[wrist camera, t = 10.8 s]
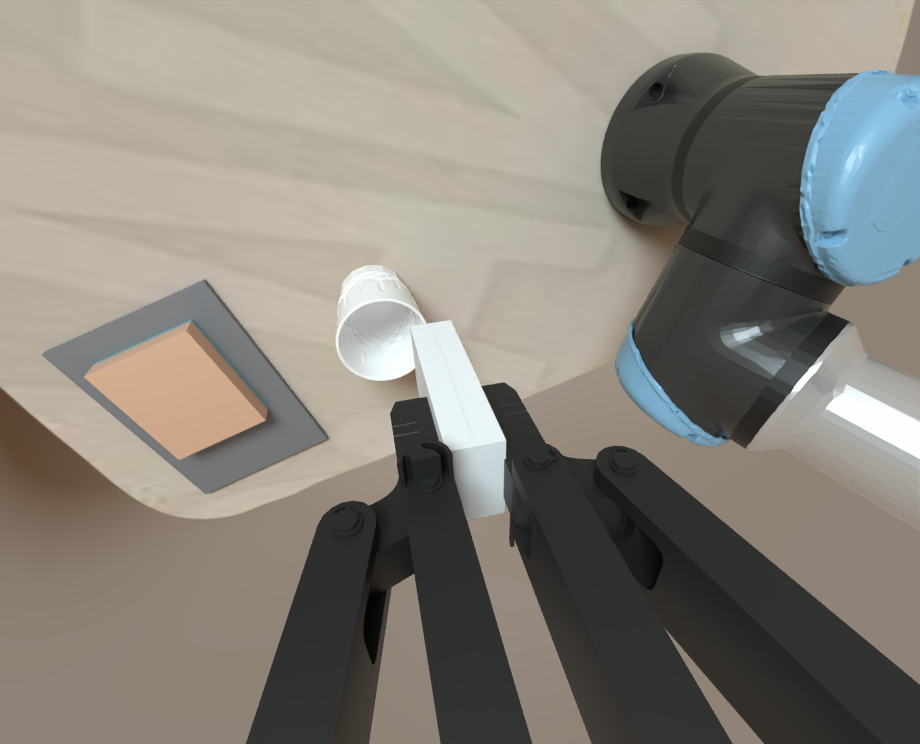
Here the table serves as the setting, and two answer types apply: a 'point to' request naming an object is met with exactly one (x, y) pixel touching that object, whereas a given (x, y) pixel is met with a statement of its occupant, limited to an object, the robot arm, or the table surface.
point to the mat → (285, 415)
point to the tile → (179, 389)
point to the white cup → (376, 324)
